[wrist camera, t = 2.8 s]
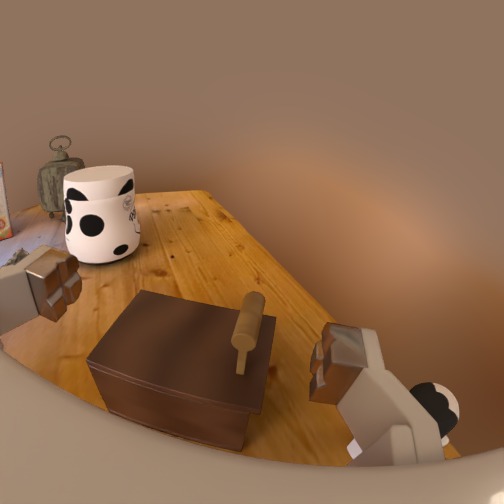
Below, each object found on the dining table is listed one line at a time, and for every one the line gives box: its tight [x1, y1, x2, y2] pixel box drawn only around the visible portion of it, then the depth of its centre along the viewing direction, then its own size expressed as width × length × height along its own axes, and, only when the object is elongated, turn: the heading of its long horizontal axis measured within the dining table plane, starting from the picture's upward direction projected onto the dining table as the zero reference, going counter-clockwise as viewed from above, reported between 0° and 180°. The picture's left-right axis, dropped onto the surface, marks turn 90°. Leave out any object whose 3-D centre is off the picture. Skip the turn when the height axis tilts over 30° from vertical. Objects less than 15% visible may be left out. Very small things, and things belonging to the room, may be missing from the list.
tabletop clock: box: [38, 136, 85, 222], centre depth 68 cm, size 14×9×25 cm, turn 114°
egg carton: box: [1, 248, 29, 268], centre depth 45 cm, size 11×8×4 cm
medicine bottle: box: [347, 382, 459, 459], centre depth 21 cm, size 7×7×12 cm
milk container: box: [63, 166, 140, 265], centre depth 55 cm, size 17×17×18 cm
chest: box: [88, 365, 250, 452], centre depth 30 cm, size 16×13×9 cm
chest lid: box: [86, 290, 276, 415], centre depth 26 cm, size 16×13×6 cm
